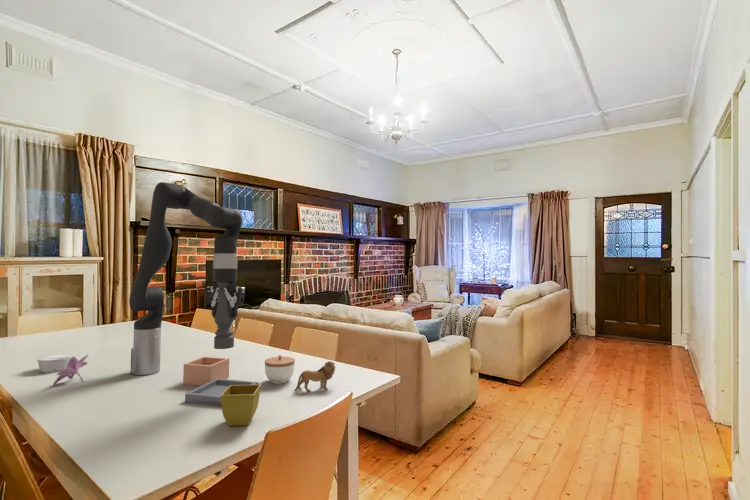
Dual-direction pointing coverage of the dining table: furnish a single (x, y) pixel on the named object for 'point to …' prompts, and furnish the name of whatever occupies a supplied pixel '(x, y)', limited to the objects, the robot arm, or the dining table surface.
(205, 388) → the tray
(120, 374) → the dining table surface
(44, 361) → the ramekin
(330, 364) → the lion figurine
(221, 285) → the candle holder
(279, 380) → the lidded jar
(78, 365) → the lily
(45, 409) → the dining table surface
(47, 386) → the dining table surface
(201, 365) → the square copper bin
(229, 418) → the flower pot
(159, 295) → the robot arm
